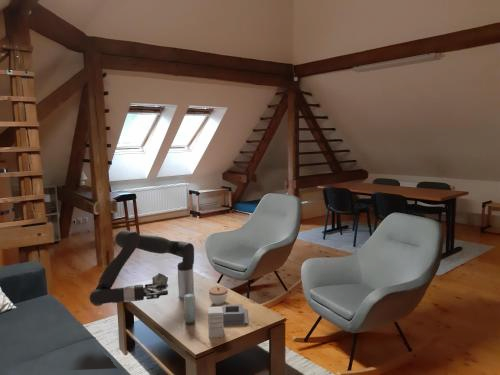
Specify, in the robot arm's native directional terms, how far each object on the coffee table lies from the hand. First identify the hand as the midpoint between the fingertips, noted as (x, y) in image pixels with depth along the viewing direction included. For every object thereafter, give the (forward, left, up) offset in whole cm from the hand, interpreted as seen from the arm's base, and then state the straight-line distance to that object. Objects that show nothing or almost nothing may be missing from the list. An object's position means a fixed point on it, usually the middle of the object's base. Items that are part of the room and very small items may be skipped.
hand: (166, 289), depth 200 cm
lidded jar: (-27, +25, -20) cm, 42 cm away
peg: (-3, +11, -20) cm, 23 cm away
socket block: (-7, +33, -20) cm, 39 cm away
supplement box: (+9, +25, -20) cm, 33 cm away
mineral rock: (-53, -13, -20) cm, 58 cm away
